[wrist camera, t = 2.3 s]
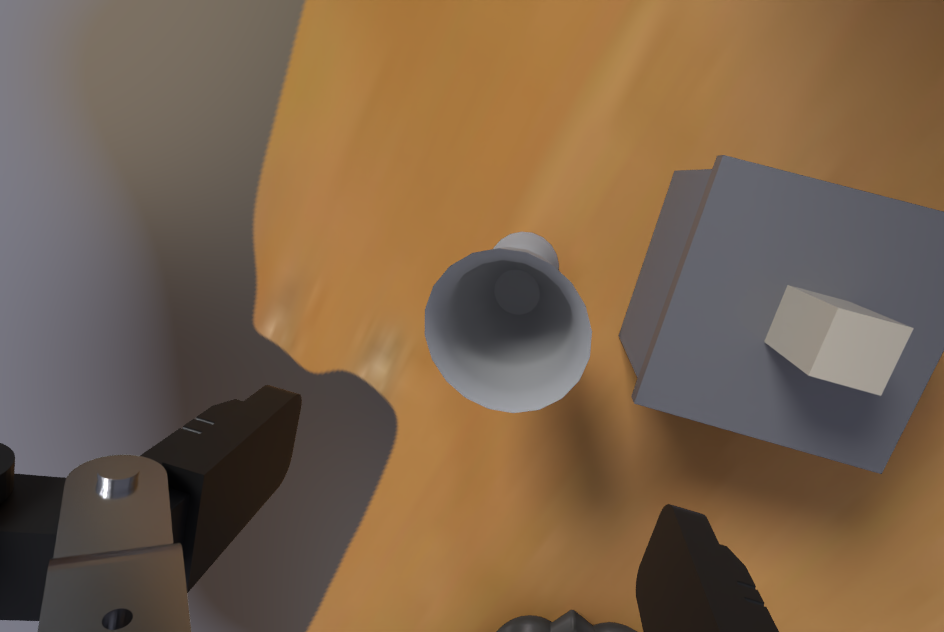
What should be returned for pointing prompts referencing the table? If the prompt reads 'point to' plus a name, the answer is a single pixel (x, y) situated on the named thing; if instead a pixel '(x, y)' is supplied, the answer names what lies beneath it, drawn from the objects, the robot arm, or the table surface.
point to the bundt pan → (560, 625)
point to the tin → (661, 262)
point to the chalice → (509, 326)
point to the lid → (800, 314)
